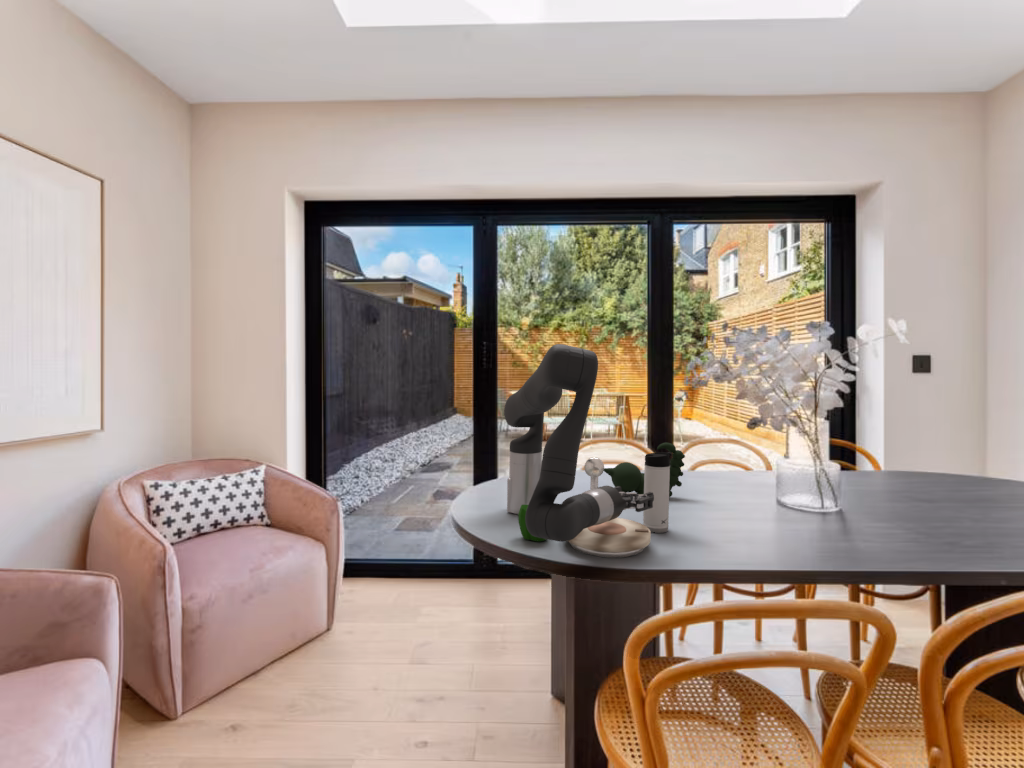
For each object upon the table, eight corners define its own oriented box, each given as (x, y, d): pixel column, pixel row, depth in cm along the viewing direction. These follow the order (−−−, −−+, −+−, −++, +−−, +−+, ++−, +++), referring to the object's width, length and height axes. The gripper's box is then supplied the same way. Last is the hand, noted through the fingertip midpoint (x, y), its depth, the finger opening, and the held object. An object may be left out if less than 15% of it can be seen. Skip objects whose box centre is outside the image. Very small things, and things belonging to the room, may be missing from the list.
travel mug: (670, 534, 135) (672, 454, 134) (643, 532, 136) (645, 453, 135) (668, 526, 141) (670, 450, 140) (642, 525, 142) (644, 449, 142)
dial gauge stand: (580, 530, 137) (581, 459, 137) (583, 520, 146) (584, 454, 145) (604, 531, 136) (605, 461, 135) (605, 522, 144) (606, 455, 144)
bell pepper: (518, 532, 135) (518, 493, 134) (551, 533, 134) (552, 493, 134) (517, 544, 126) (518, 501, 126) (552, 545, 126) (553, 502, 126)
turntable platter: (558, 547, 119) (558, 537, 119) (568, 521, 138) (568, 512, 138) (652, 555, 115) (652, 544, 115) (649, 527, 134) (649, 518, 134)
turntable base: (565, 553, 120) (566, 547, 120) (573, 530, 137) (574, 525, 137) (644, 560, 116) (644, 554, 116) (642, 536, 133) (642, 530, 133)
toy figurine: (674, 499, 176) (597, 491, 177) (681, 442, 175) (604, 434, 176) (682, 507, 167) (601, 498, 168) (689, 446, 166) (608, 438, 167)
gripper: (627, 494, 113) (663, 482, 125) (571, 483, 123) (610, 473, 135) (626, 529, 113) (662, 514, 125) (571, 516, 123) (609, 503, 135)
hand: (635, 493), depth 130 cm, fingers open, 8 cm apart
